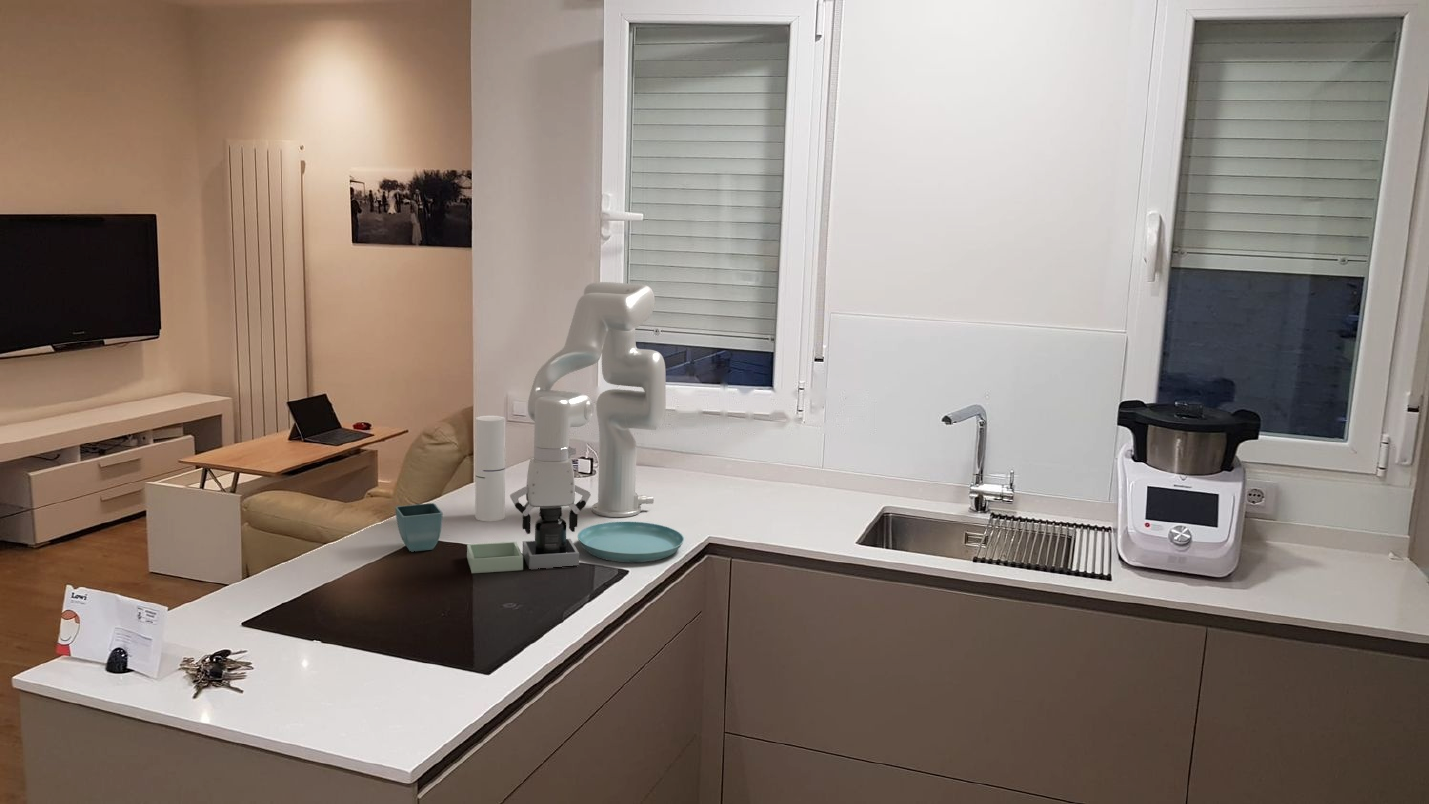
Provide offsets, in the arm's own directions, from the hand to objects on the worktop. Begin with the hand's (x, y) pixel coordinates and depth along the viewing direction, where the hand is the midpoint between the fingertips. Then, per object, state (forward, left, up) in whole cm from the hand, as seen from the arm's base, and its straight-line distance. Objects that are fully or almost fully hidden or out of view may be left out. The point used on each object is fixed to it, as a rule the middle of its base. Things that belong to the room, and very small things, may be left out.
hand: (549, 531), depth 229 cm
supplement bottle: (0, 0, -7) cm, 7 cm away
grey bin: (0, 0, -7) cm, 7 cm away
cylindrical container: (+9, -36, -7) cm, 38 cm away
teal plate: (-19, -5, -7) cm, 21 cm away
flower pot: (+27, -14, -7) cm, 31 cm away
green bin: (+12, 0, -7) cm, 14 cm away
